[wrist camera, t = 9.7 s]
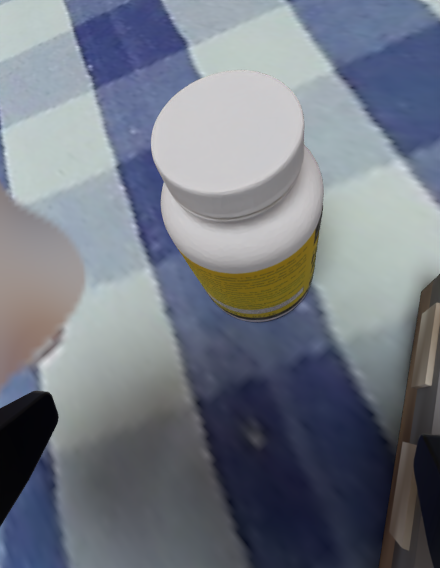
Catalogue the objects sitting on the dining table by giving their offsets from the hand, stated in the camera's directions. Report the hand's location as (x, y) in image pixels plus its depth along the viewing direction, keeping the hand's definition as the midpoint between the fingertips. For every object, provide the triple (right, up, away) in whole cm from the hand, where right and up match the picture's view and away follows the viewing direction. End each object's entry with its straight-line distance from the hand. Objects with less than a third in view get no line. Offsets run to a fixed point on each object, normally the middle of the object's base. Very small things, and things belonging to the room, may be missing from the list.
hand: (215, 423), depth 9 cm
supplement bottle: (+2, +4, +10) cm, 11 cm away
